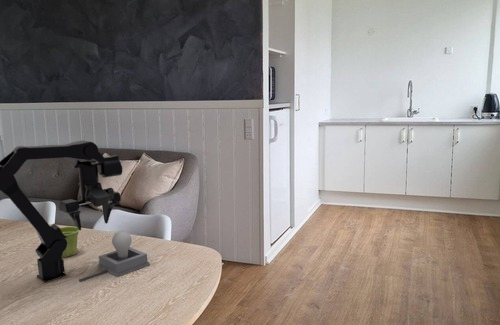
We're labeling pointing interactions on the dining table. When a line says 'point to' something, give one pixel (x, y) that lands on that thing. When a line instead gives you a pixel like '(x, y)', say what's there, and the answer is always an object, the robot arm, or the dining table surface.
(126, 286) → the dining table surface
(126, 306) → the dining table surface
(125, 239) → the lightbulb
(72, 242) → the plant pot
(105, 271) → the grey square pan
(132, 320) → the dining table surface
